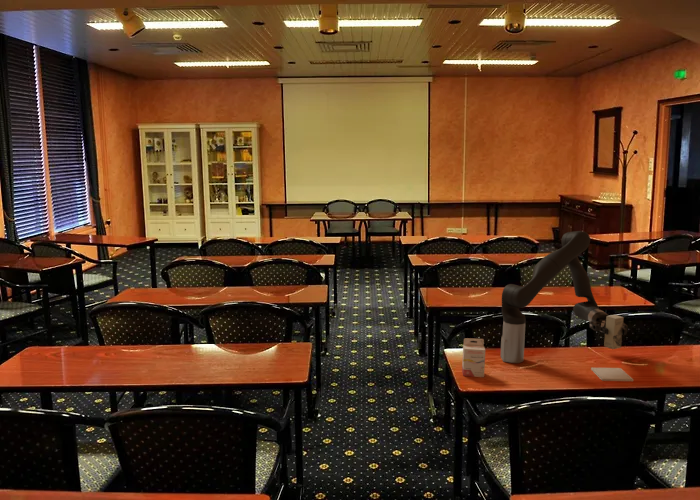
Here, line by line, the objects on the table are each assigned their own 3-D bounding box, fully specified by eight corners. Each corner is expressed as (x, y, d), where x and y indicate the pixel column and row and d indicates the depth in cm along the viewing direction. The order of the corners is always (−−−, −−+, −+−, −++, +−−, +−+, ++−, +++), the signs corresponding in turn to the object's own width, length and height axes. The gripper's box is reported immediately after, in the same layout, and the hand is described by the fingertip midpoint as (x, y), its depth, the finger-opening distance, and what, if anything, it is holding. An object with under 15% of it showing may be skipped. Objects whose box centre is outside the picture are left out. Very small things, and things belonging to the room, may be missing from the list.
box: (612, 349, 222) (615, 318, 220) (603, 346, 226) (605, 316, 224) (621, 347, 224) (624, 316, 222) (612, 344, 228) (614, 314, 226)
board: (602, 380, 220) (602, 378, 220) (590, 369, 232) (591, 367, 232) (633, 381, 219) (633, 379, 219) (620, 369, 231) (620, 368, 231)
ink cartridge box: (463, 376, 225) (464, 341, 222) (461, 372, 230) (462, 337, 227) (484, 377, 224) (486, 342, 222) (482, 372, 229) (484, 338, 226)
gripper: (583, 311, 238) (598, 323, 221) (617, 311, 237) (635, 323, 220) (582, 328, 239) (597, 341, 222) (616, 328, 238) (634, 341, 222)
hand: (616, 332), depth 221 cm, fingers closed on box, 6 cm apart
